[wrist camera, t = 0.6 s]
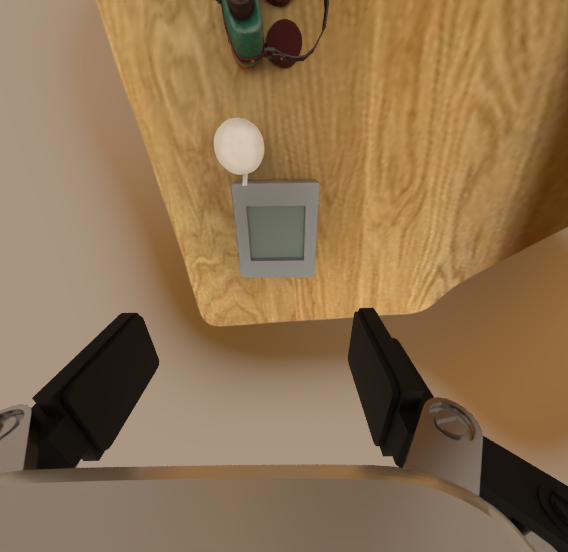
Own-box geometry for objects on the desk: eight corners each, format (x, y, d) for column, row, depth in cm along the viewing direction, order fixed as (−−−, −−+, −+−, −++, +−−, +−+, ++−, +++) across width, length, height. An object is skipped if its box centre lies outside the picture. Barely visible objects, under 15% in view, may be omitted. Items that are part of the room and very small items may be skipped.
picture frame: (237, 180, 29) (230, 183, 26) (315, 179, 29) (319, 182, 26) (245, 265, 35) (241, 277, 31) (310, 264, 35) (314, 277, 31)
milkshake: (238, 180, 29) (219, 190, 21) (227, 132, 27) (200, 119, 18) (273, 174, 29) (269, 181, 20) (264, 124, 27) (255, 108, 18)
